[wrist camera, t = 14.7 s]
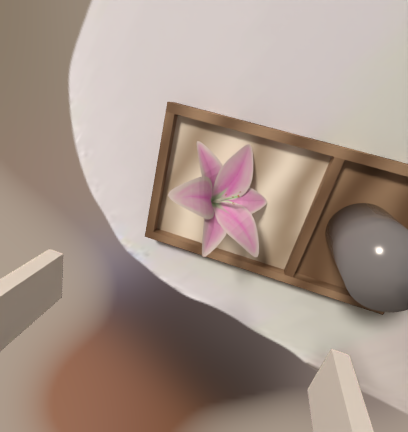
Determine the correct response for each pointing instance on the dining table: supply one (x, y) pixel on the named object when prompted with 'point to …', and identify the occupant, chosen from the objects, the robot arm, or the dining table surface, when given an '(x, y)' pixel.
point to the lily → (223, 199)
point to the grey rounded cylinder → (371, 255)
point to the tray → (273, 195)
